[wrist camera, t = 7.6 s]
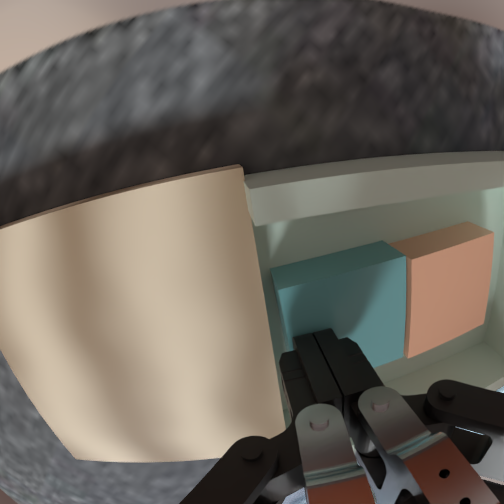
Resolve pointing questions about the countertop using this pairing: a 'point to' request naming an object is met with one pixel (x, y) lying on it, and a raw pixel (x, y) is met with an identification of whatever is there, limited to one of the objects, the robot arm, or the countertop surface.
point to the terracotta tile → (445, 284)
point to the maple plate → (143, 320)
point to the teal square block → (347, 298)
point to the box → (387, 241)
